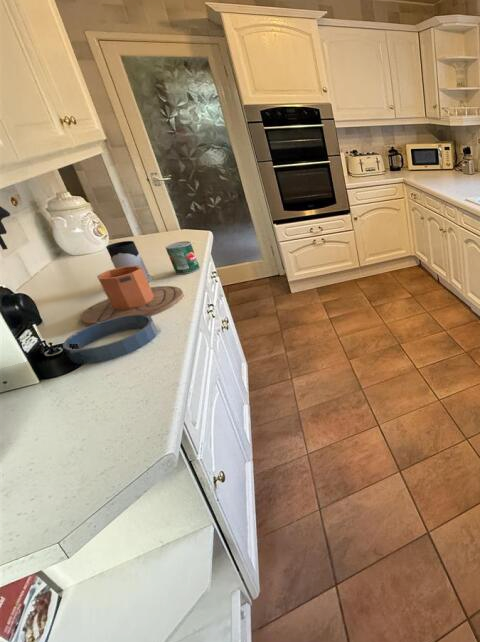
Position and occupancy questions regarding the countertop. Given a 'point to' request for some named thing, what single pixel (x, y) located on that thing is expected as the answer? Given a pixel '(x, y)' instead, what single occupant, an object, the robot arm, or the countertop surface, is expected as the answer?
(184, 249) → the canned tomato
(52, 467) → the countertop surface
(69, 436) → the countertop surface
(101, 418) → the countertop surface
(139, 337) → the blue ring
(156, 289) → the trivet
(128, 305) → the small pot
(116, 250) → the glass holder
